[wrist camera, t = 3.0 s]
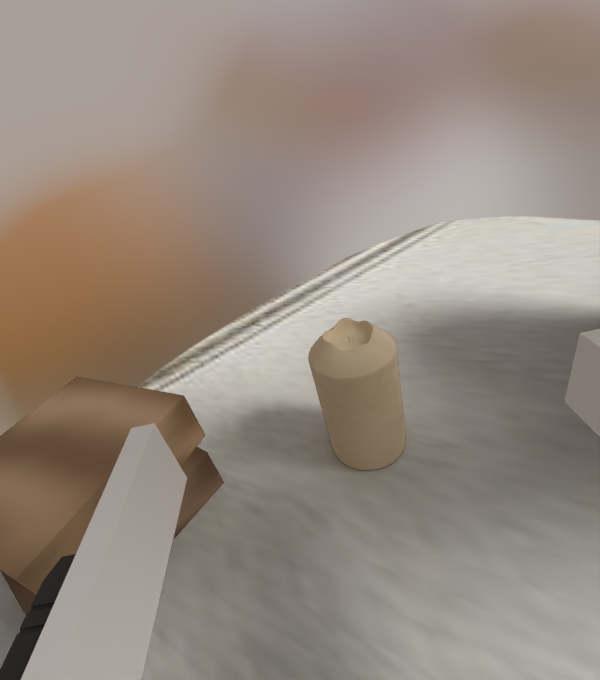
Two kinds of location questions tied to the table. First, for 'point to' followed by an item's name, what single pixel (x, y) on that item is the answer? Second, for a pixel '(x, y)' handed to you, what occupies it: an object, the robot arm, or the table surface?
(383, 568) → the table surface
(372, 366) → the candle
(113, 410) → the tower top
